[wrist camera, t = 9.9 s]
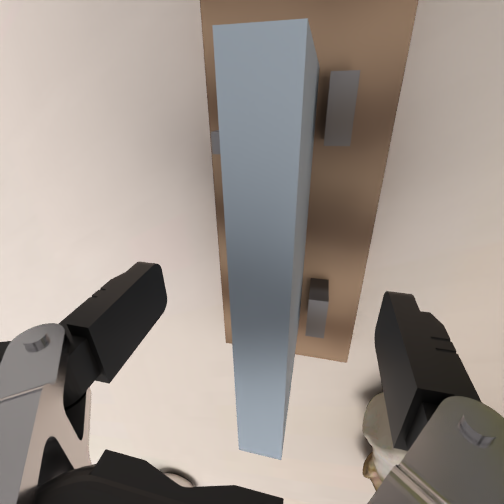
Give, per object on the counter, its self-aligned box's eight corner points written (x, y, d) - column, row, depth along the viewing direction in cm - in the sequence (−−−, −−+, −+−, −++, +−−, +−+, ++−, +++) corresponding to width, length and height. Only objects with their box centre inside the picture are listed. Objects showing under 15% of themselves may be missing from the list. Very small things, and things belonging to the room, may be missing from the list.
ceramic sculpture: (541, 499, 15) (531, 595, 21) (471, 362, 22) (479, 464, 29) (336, 483, 19) (378, 569, 25) (333, 371, 26) (366, 459, 32)
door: (268, 68, 15) (186, 27, 6) (319, 66, 14) (307, 18, 6) (265, 312, 22) (226, 446, 14) (299, 317, 22) (281, 459, 13)
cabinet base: (212, -17, 15) (173, -56, 12) (416, -38, 13) (453, -95, 9) (232, 326, 27) (216, 365, 23) (345, 344, 24) (348, 390, 21)
